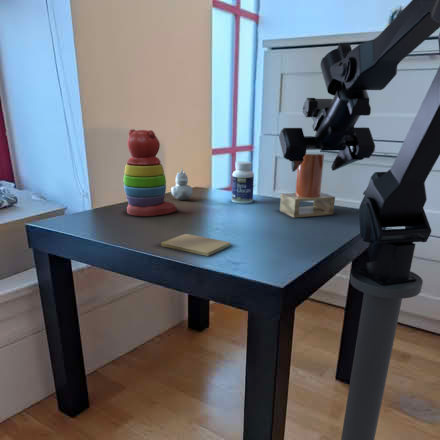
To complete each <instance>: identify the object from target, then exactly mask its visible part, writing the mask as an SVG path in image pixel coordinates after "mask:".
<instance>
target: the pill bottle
mask: <svg viewBox="0 0 440 440" xmlns="http://www.w3.org/2000/svg"><path fill="white" fill-rule="evenodd" d="M234 167H235V170H234V171H233V172H232V179H231V182H232V183H231V201H232V203H235V204H245V205H246V204H251V203H252V202H253V200H254V181H255V179H254V178H255V174H254V172H253V171H252V170H251V169H252V162H251V161H242V160H241V161H235V166H234Z"/></svg>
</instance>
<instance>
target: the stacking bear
mask: <svg viewBox="0 0 440 440" xmlns="http://www.w3.org/2000/svg"><path fill="white" fill-rule="evenodd" d="M127 138H128V139H127V143H126V144H127V149H128V152H129V154H130V156H131V157H129V158H128V159H127V161H126V164H125V167H124V175H123V189H124V193H125V197H126V200H127V203H128V205H127V206H126V213H127V214H128V215H130V216H134V217H156V216H162V215H168V214H171V213H175V212H177V207H176V205H175V204H174V203H173V202H169V201H166V200H165V197H166V196H165V195H166V191H167V180H166V175H165V170H164V167H163V164H162V163H161V160H160V159H159V158H158V157H157V155H158V153H159V151H160V147H161V146H160V145H161V144H160V141H159V139H158V136H156V133H155V132H154V130H151V129H150V130H146V129H138V130H135V129H134V128H132V129H130V130H129V131H128V137H127Z"/></svg>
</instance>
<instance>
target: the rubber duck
mask: <svg viewBox="0 0 440 440" xmlns="http://www.w3.org/2000/svg"><path fill="white" fill-rule="evenodd" d="M188 183H189V177H188V175H187V174H186V172H185V171H183V168H181V170H180V171H178V172H177V173H176V175H175V185H173V186H172V187H170V193H171V196H173V198H175V199H177V200H180V201H185V200H188V199H189V198H191V196H192V194H193V187H192V186H191V185H188Z"/></svg>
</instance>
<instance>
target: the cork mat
mask: <svg viewBox="0 0 440 440" xmlns="http://www.w3.org/2000/svg"><path fill="white" fill-rule="evenodd" d="M231 245H232V243H231V242H230V241H226V240H220V239H215V238H210V237H206V236H200V235H194V234H190V233H183V234H181V235H178V236H176V237H172V238H169V239H167V240H164V241H162V242H160V246H161V247H164V248H170V249H173V250H177V251H183V252H187V253H191V254H195V255H199V256H200V255H201V256H205V257H209V256H212V255H214V254H216V253H218V252H220V251H222V250H224V249H227V248H229V247H231Z"/></svg>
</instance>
